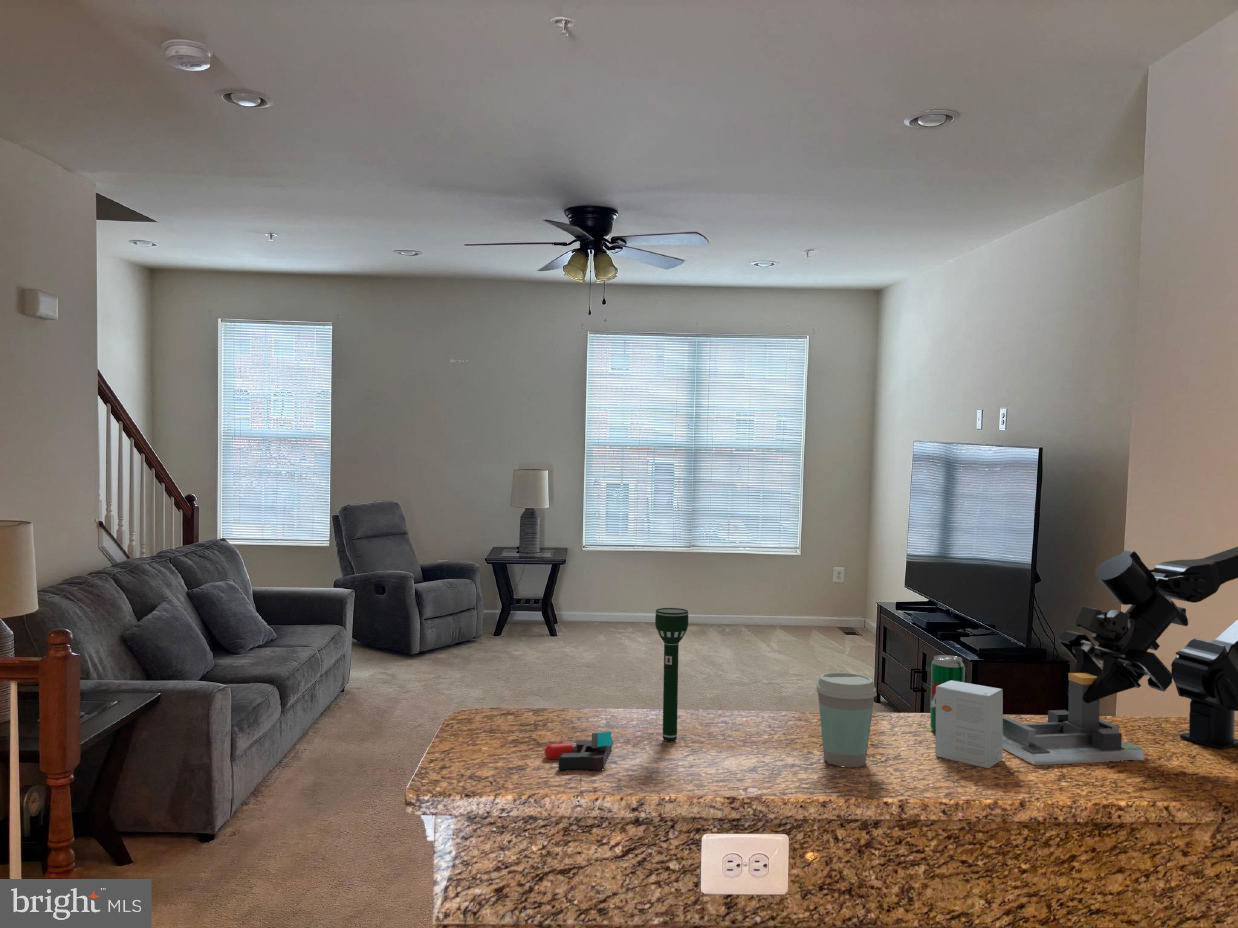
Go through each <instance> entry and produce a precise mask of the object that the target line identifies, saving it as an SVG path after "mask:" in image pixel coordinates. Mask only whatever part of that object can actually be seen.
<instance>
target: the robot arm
mask: <svg viewBox="0 0 1238 928" xmlns="http://www.w3.org/2000/svg"><path fill="white" fill-rule="evenodd" d="M1095 577H1096V578H1097V580H1098V581H1099V582H1100V583H1102V585H1103V586H1104V587H1105V588H1106V590H1107V591H1108V592H1109V593H1110V594H1111V595H1112V596H1113V597H1114V598H1115V600H1116V601H1117V602H1118V603H1119V604H1121V605H1123V606H1129V605H1130V606H1129V608H1128V609H1126V611H1125V612H1123V611H1121V610H1118V609H1111V610H1110V611H1108V612H1107V611H1104V610H1100V609H1097V608H1094V607H1089V606H1084V605H1081V606H1080V608H1079V611H1078V614H1077V616H1076V618H1075V620H1074V623H1073V625H1074V626H1076V627H1077V628H1078V627H1079V628H1083V629H1085V630H1087V631H1089V632H1090V633H1092V634H1091V635H1090V637H1091V638H1092V639H1093V641H1095V642H1097V643H1098V645H1095V643H1093V641H1092V640H1091V639H1090V637H1088V635H1086V634H1085V633H1082V632H1077V631H1073V630H1064V631H1063V632H1062V633H1061V634H1060V635H1059V636H1058V637H1057V639H1056V640H1057V642H1058V643H1059V644H1060V645H1061V647H1062V648H1063V649H1064V650H1065V651H1066V652H1067V653H1068V655H1069V656H1070V657H1071V658H1072V660H1073V661H1075V663H1076V664H1075V668H1074V671H1073V673H1088V674H1091V675H1094V676H1097V678H1096V679H1095V680H1094V682H1093V683H1092V684H1091V685H1090V687H1089V688H1088V689H1087V691H1086V692H1085V694H1084V696H1083V697H1082V699H1083V700H1084V701H1085V702H1086V703H1090V702H1093V701H1096V700H1098V699H1100V700H1101V699H1104V698H1106V697H1109V696H1112V695H1115V694H1117V693H1120V692H1124V691H1127V690H1131V689H1134V688H1137V689H1139V688H1140V687H1141V686H1142V685H1141V682H1140V681H1141V680H1142V679H1143V678H1144V677H1147V676H1149V677H1148V678H1147V685H1148V686H1149V687H1150V688H1151V689H1154V690H1158V691H1161V692H1164V693H1165V692H1166V691H1167V689H1168V688H1169V687H1170V686H1171V685H1172V683H1173V682H1174V684H1175V688H1176V690H1177V695H1178V696H1179V697H1181V698H1186V699H1189V700H1190V701H1189V714H1188V720H1189V721H1188V732H1185V733H1180V734H1179V738H1181V739H1185V740H1188V741H1191V742H1195V743H1199V744H1202V745H1206V746H1209V747H1211V748H1216V749H1220V750H1221V749H1227V748H1228V749H1229V748H1233V747H1238V738H1235V712H1238V619H1237V620H1235V621H1234V622H1233V623H1232V624H1231V625H1230V626H1229V627H1227V628H1226V629H1225V630H1224V631H1223V632H1221V634H1219V635H1218V636H1217V637H1216V638H1215V639H1214V640H1211V641H1208V640H1202V639H1199V638H1193V639H1191V640H1190V641H1188V643H1187V644H1186V645H1185V646H1184V648H1182V649H1180V650H1178V651H1176V652H1175V655H1176V657H1175V658H1174V659H1173V660H1172V662H1171V664H1170V666H1171V671H1170V670H1169V668H1167V667H1168V666H1166V665H1165V664H1164V663H1163V662H1162V660H1160V658H1159V657H1158V656H1157V654H1155V653H1154V652H1151V651H1149V650H1152V651H1155V652H1156V651H1157V650H1158V649H1159V648H1160V647H1161V645H1160V644H1159V643H1158V642H1157V641H1158V639H1159V638H1160V637H1161V636H1162V635H1163V633H1164V632H1165V631H1166V630H1167V629H1168V628H1169V626H1170V625H1171V624H1174V625H1178V626H1183V627H1188V625H1189V619H1188V617H1187V609H1186V608H1185V607H1181V606H1178V605H1177V604H1176V602H1174V600H1177V601H1184V602H1188V603H1194V604H1195V603H1199V602H1202V601H1204V600H1205V599H1207V598H1209V597H1211V596H1213V595H1215V594H1216V593H1217V592H1218V591H1219V589H1220V587H1221V586H1222V585H1224V584H1226V583H1227V582H1228V583H1229V582H1231V581H1233V580H1236V579H1238V546H1235V547H1233V548H1229V549H1227V550H1223V551H1220V552H1218V553H1215V554H1211V555H1207V556H1206V557H1203V558H1194V559H1193V558H1192V559H1177V560H1168V561H1162V562H1160V563H1158V564H1156V565H1155V566H1154V567H1153V568H1152V569H1149V567H1148V566H1146V564H1145V563H1144V562H1143V561H1142V559H1141V557H1140V556H1139V554H1138V553H1137V552H1136V551H1135V550H1128V549H1126V550H1125V549H1124V550H1123V552H1121V554H1118V555H1115V556H1112V557H1109V559H1107V560H1105V561H1102V562H1101V563H1099V565H1098V567H1096V570H1095ZM1101 667H1102V668H1101ZM1066 693H1067V695H1068V696H1069V687H1068V688H1067V692H1066Z"/></svg>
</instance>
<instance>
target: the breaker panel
mask: <svg viewBox="0 0 1238 928" xmlns="http://www.w3.org/2000/svg"><path fill="white" fill-rule="evenodd" d="M1063 721H1068V710H1066V709H1055V710H1047V722H1035V723H1034V722H1033V723H1031V722H1029V723H1023V722H1019V721H1018V720H1015V719H1013V718H1011V717H1003V750H1005V751H1007V752H1008V753H1010V754H1012V755H1014V756H1016V757H1018V759H1022V760H1024V761H1025V762H1027V763H1029V764H1031V765H1033V766H1045V765H1047V766H1048V765H1065V764H1067V765H1068V764H1070V765H1071V764H1088V763H1089V764H1090V763H1091V764H1092V763H1109V761H1113V762H1128V761H1127V760H1134V761H1144V760H1145V759H1144V756H1145V754H1144V753H1145V752H1144V751H1145V750H1144V749H1143V747H1142V746H1139V745H1137V744H1134V743H1133V742H1130V741H1129V742H1127V741H1126V742H1125V741H1124V740H1122V738H1123V736H1122V735H1123V734H1122V732H1120V726H1118V725H1116V724H1114V723H1111V722H1109V721H1106V720H1104V719H1101V718H1099V726H1101V727H1103V728H1104V729H1092V733H1072V734H1064V733H1063ZM1120 760H1121V761H1120ZM1124 760H1126V761H1124Z"/></svg>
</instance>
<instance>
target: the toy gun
mask: <svg viewBox="0 0 1238 928" xmlns="http://www.w3.org/2000/svg"><path fill="white" fill-rule="evenodd" d="M575 742H576V743H575V744H572V742H564V743H554V744H553V743H552V744H547V746H546V747H545V749H544V756H545V758H547V759H548V758H549V759H548V760H555V759H554V758H559V759H558V771H560V772H567V771H566V770H588V771H587V772H593V771H599V772H601V771H600V770H602V769H604V770H605V768H604V766H605V767H606V765H607V763H608V760H609V758H608V757H610V756H611V750H612V747H613V745H614V740H613V738H612V731H611V730H606V731H596V732H591V740H588V739H587V740H586V739H584V740H582V739H576V740H575ZM609 755H610V756H609ZM607 759H608V760H607ZM606 762H607V763H606ZM605 764H606V765H605Z"/></svg>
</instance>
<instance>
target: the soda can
mask: <svg viewBox="0 0 1238 928" xmlns="http://www.w3.org/2000/svg"><path fill="white" fill-rule="evenodd" d="M930 664H931V665H930V715H929V716H930V717H929V718H930V721H929V724H930V725H929V726H930V728H931V730H932V731H933V732H934V733H936V686H938V685H941V684H943V683H945V682H948V681H951V680H952V681H958V682H964V683H965V673H966V672H965V671H966V669H965V664H964V663H963V659H962V657H960V656H955V655H950V654H949V655H947V654H940V655H934V656H933V660H932V662H931V663H930Z"/></svg>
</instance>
